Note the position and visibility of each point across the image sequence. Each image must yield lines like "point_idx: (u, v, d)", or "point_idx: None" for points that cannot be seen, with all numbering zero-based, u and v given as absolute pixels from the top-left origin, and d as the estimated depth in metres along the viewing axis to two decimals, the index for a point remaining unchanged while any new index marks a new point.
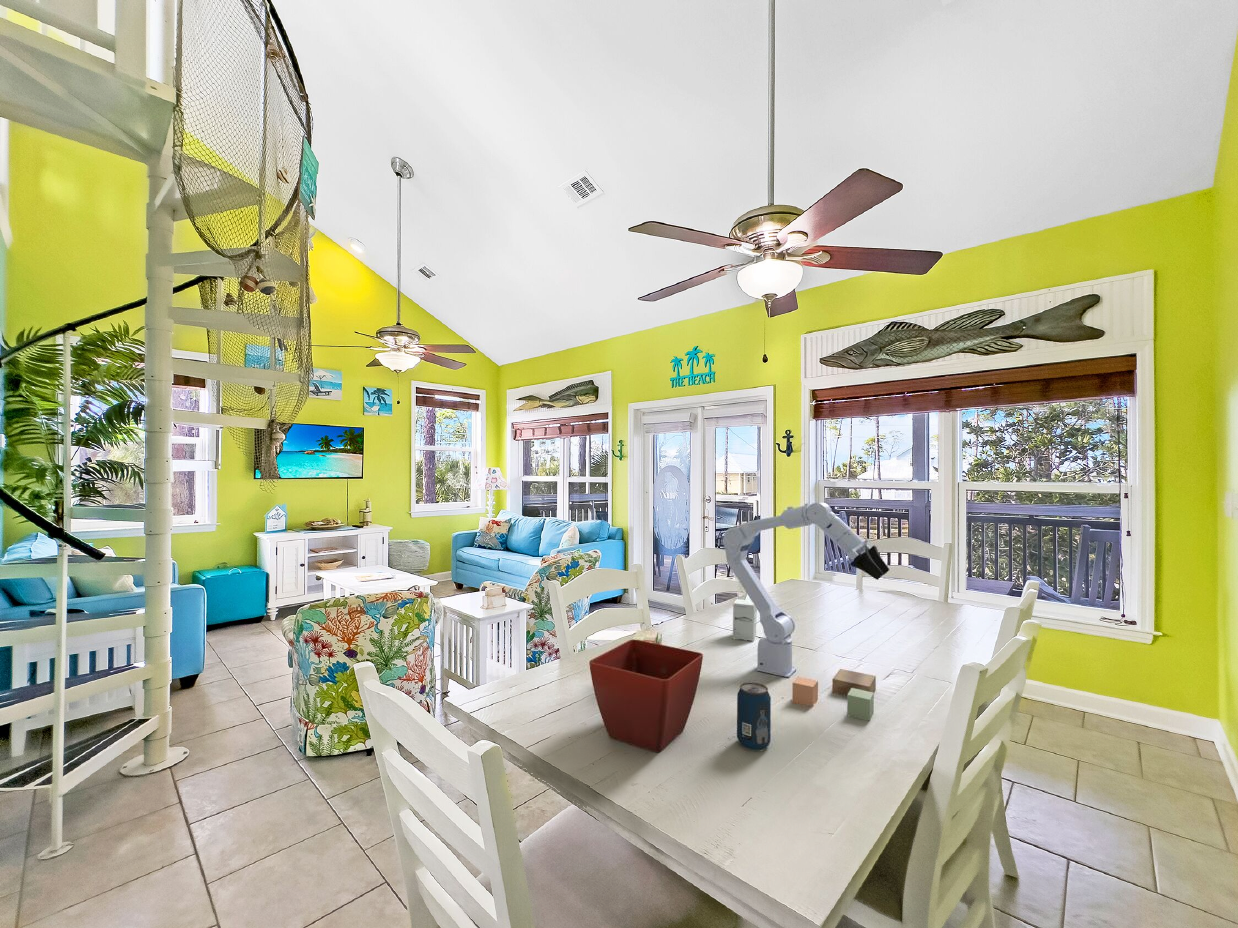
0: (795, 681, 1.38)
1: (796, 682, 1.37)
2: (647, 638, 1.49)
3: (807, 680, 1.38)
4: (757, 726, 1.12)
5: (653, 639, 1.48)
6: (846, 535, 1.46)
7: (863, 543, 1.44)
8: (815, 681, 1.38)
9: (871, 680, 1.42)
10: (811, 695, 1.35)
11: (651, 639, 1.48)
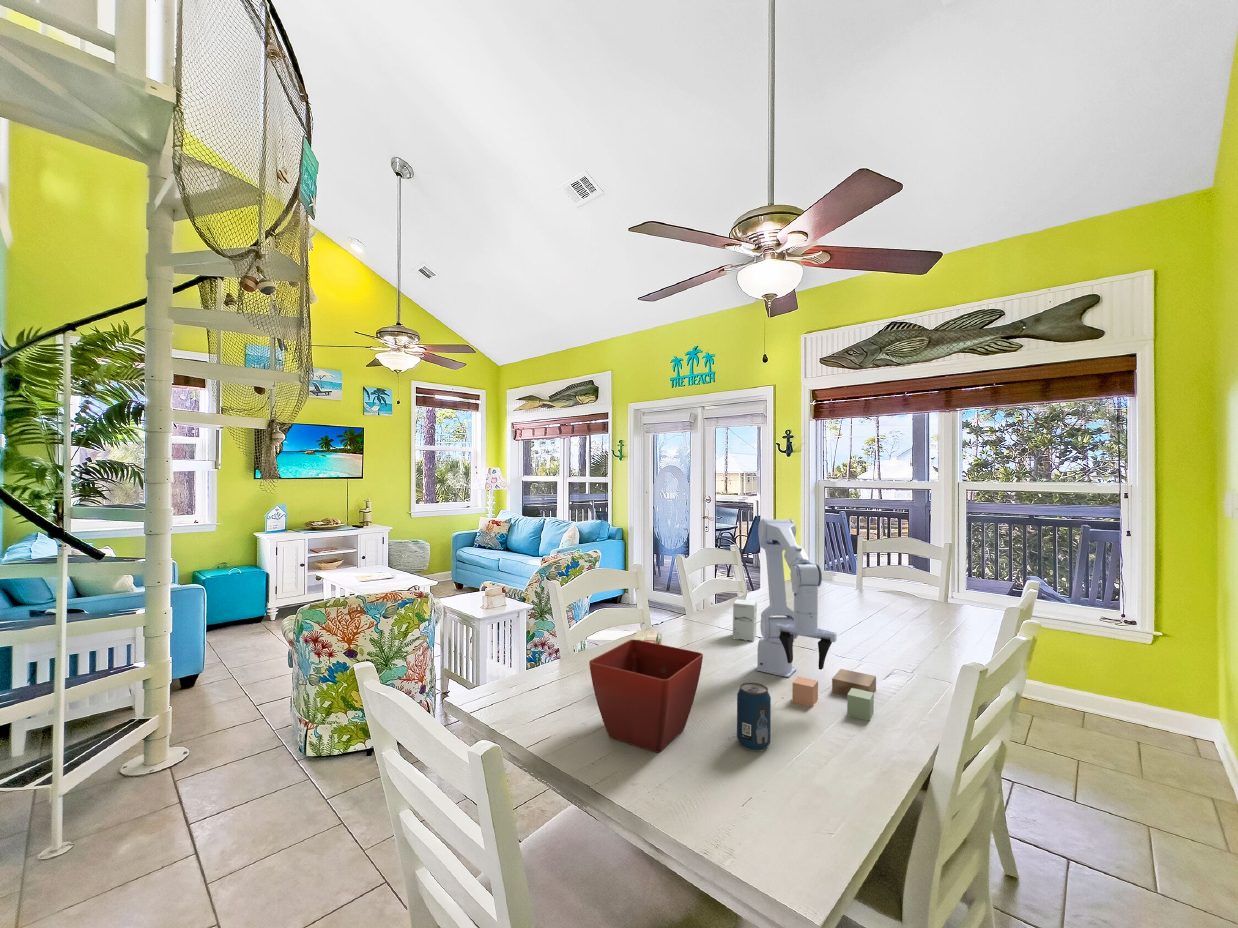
0: (795, 681, 1.38)
1: (796, 682, 1.37)
2: (648, 638, 1.49)
3: (807, 680, 1.38)
4: (757, 726, 1.12)
5: (654, 639, 1.48)
6: (794, 613, 1.38)
7: (796, 631, 1.37)
8: (815, 681, 1.38)
9: (871, 680, 1.42)
10: (811, 695, 1.35)
11: (652, 639, 1.48)
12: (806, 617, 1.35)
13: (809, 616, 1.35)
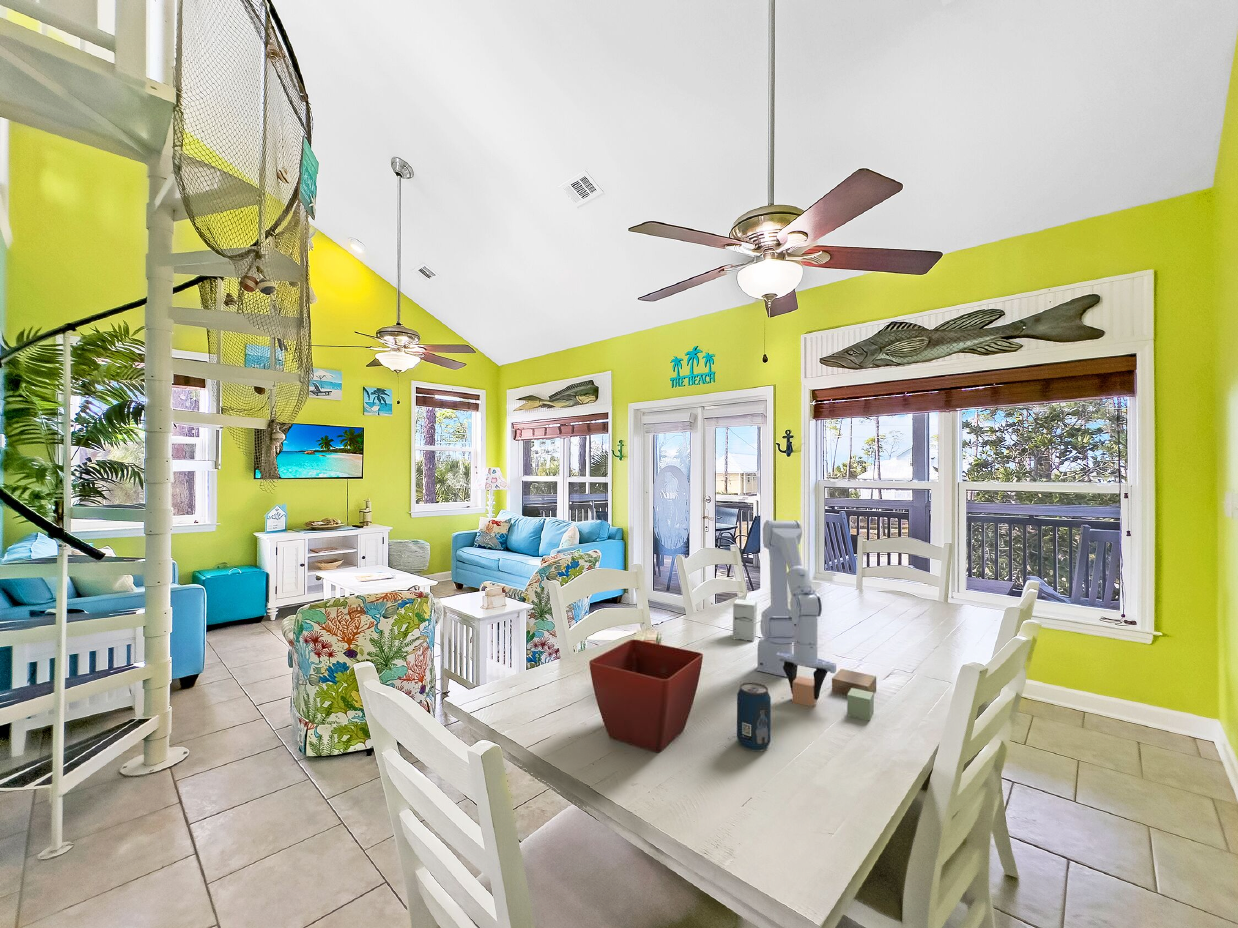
0: (795, 681, 1.38)
1: (796, 682, 1.37)
2: (648, 638, 1.49)
3: (807, 680, 1.38)
4: (757, 726, 1.12)
5: (654, 639, 1.48)
6: (794, 643, 1.38)
7: (796, 662, 1.36)
8: None
9: (871, 680, 1.42)
10: (811, 694, 1.35)
11: (652, 639, 1.48)
12: (806, 648, 1.35)
13: (809, 647, 1.35)
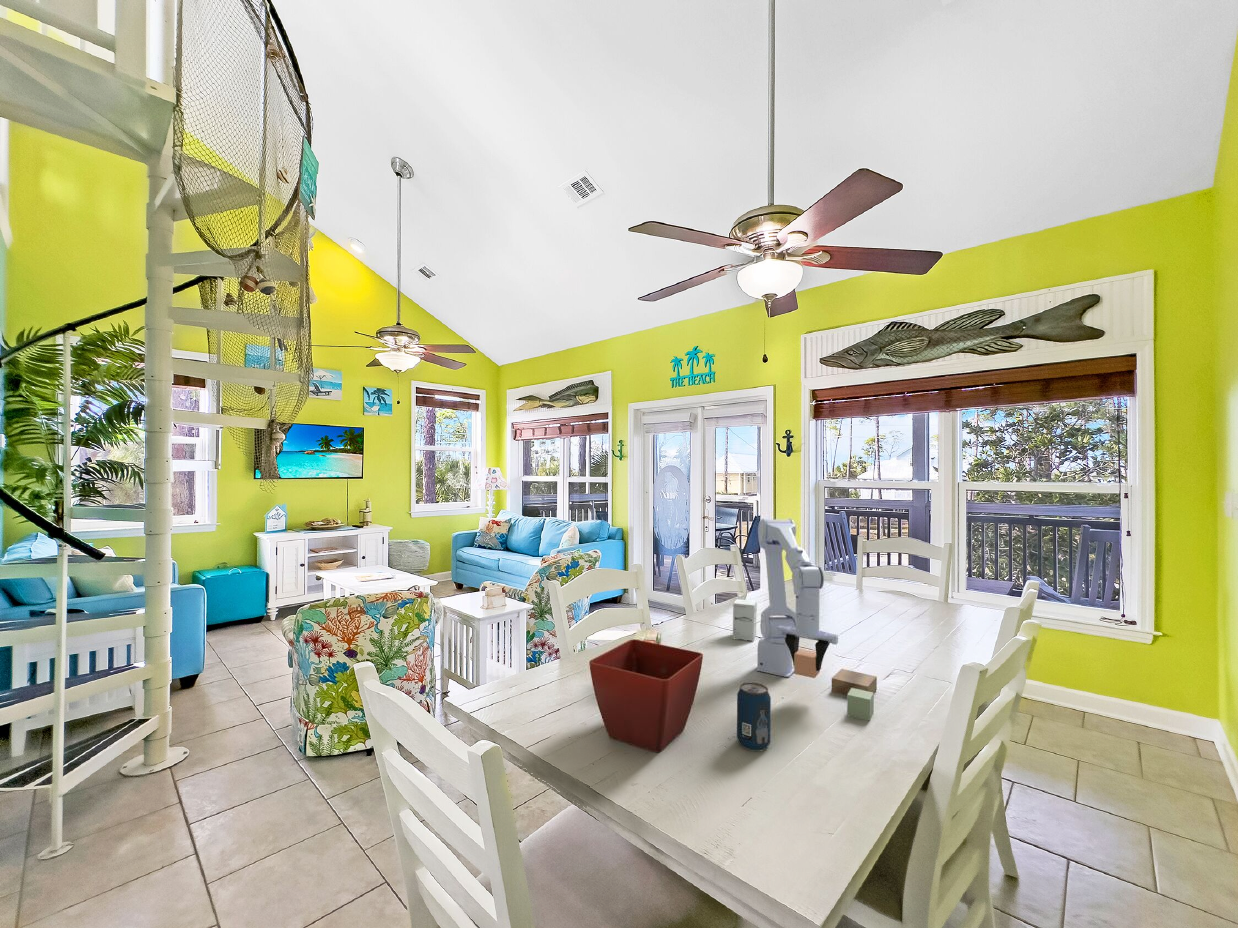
0: (796, 653, 1.38)
1: (798, 653, 1.38)
2: (648, 637, 1.49)
3: (809, 652, 1.39)
4: (757, 726, 1.12)
5: (654, 638, 1.48)
6: (795, 615, 1.39)
7: (798, 634, 1.37)
8: None
9: (871, 680, 1.42)
10: (812, 666, 1.35)
11: (652, 638, 1.48)
12: (808, 619, 1.36)
13: (811, 618, 1.35)
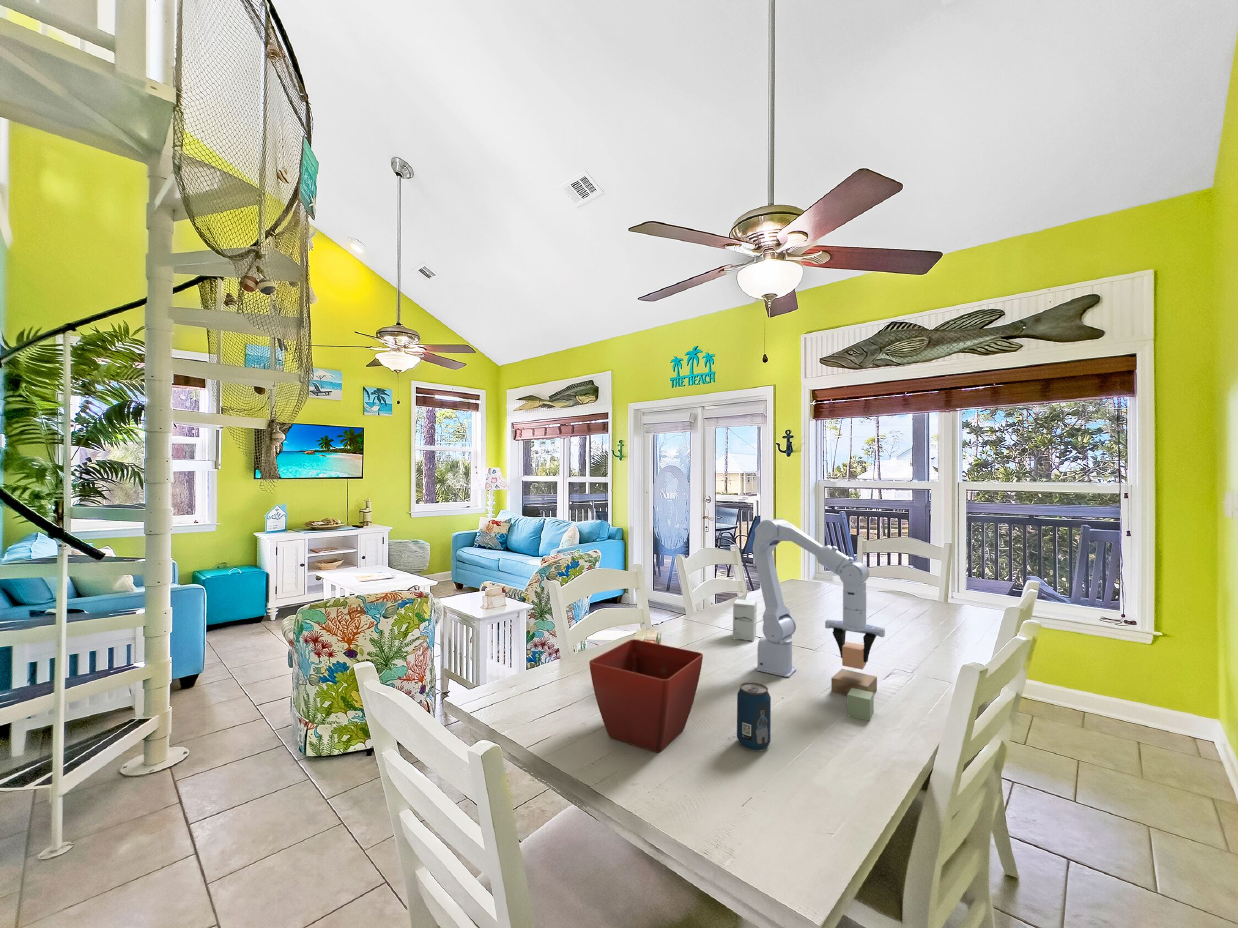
0: (844, 645, 1.44)
1: (845, 646, 1.44)
2: (648, 637, 1.49)
3: (856, 645, 1.45)
4: (757, 726, 1.12)
5: (654, 638, 1.48)
6: (843, 609, 1.45)
7: (846, 627, 1.43)
8: None
9: (871, 680, 1.42)
10: (860, 658, 1.41)
11: (652, 638, 1.48)
12: (856, 613, 1.42)
13: (859, 612, 1.42)
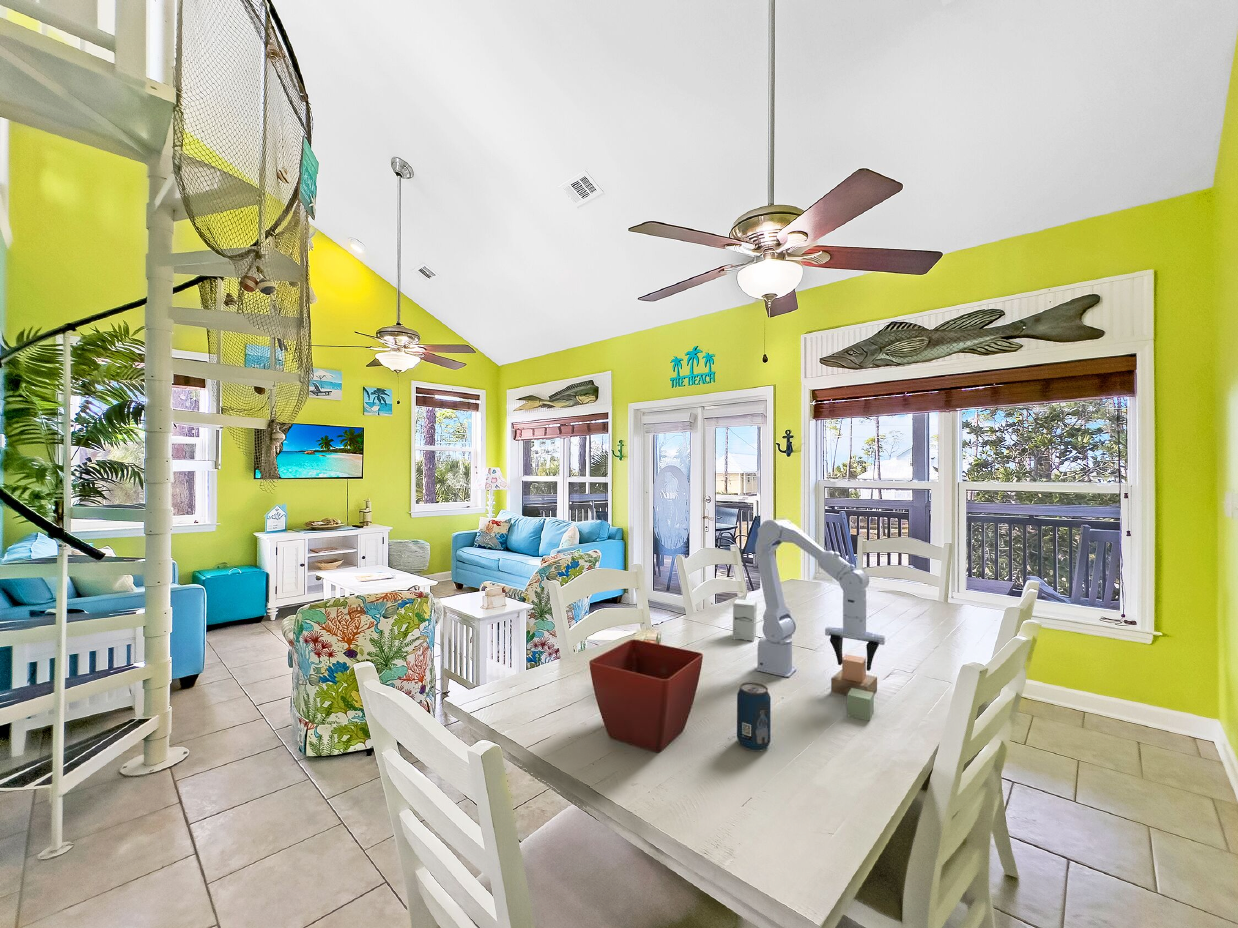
0: (844, 658, 1.44)
1: (845, 659, 1.44)
2: (648, 637, 1.49)
3: (856, 658, 1.45)
4: (757, 726, 1.12)
5: (654, 638, 1.49)
6: (843, 617, 1.45)
7: (846, 635, 1.43)
8: (863, 658, 1.45)
9: (871, 681, 1.42)
10: (860, 671, 1.41)
11: (652, 638, 1.49)
12: (856, 621, 1.42)
13: (859, 620, 1.42)
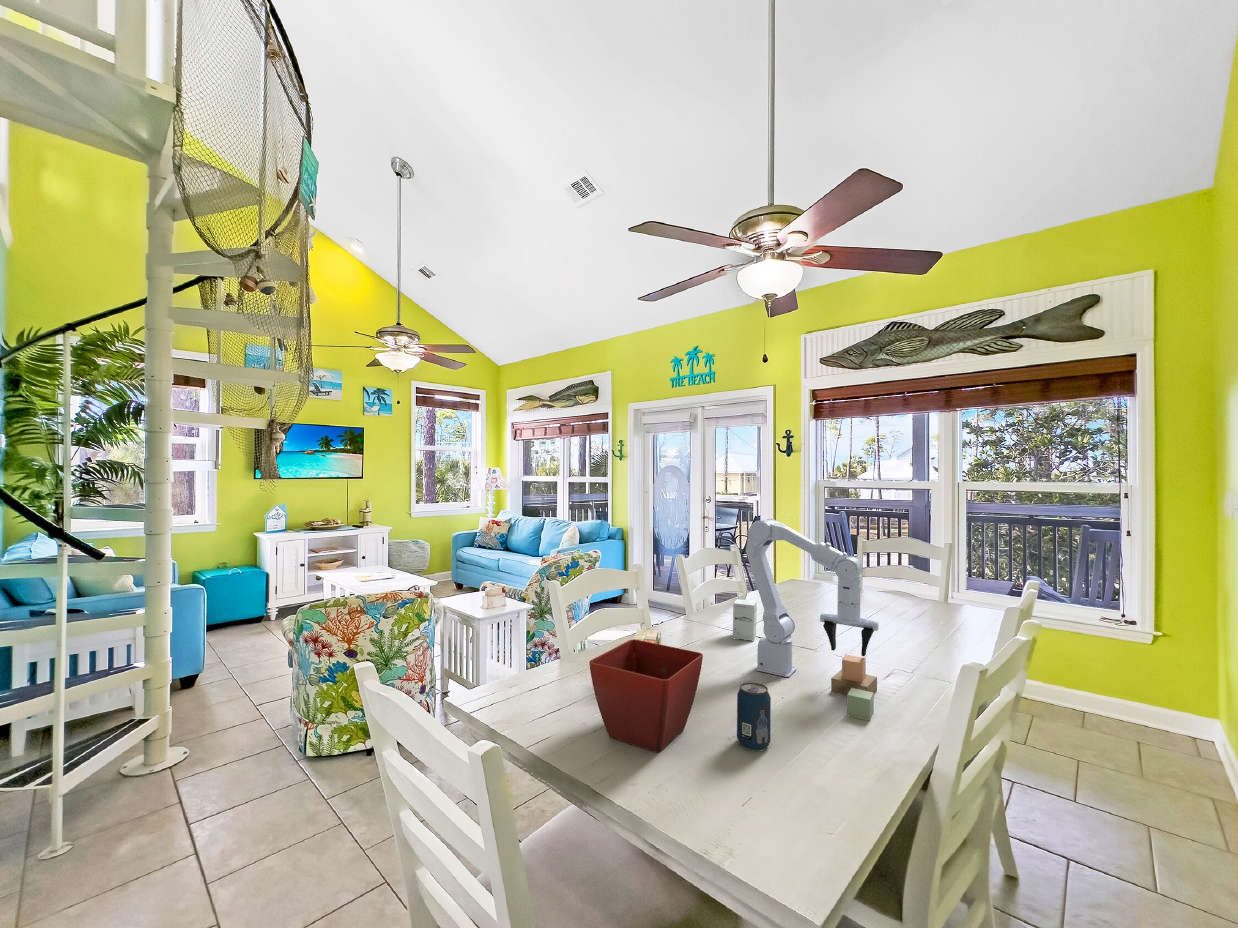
0: (844, 658, 1.44)
1: (845, 659, 1.44)
2: (648, 637, 1.49)
3: (855, 658, 1.45)
4: (757, 726, 1.12)
5: (654, 638, 1.49)
6: (838, 603, 1.48)
7: (840, 621, 1.46)
8: (863, 658, 1.45)
9: (871, 681, 1.42)
10: (860, 671, 1.41)
11: (652, 638, 1.49)
12: (850, 607, 1.45)
13: (853, 606, 1.45)
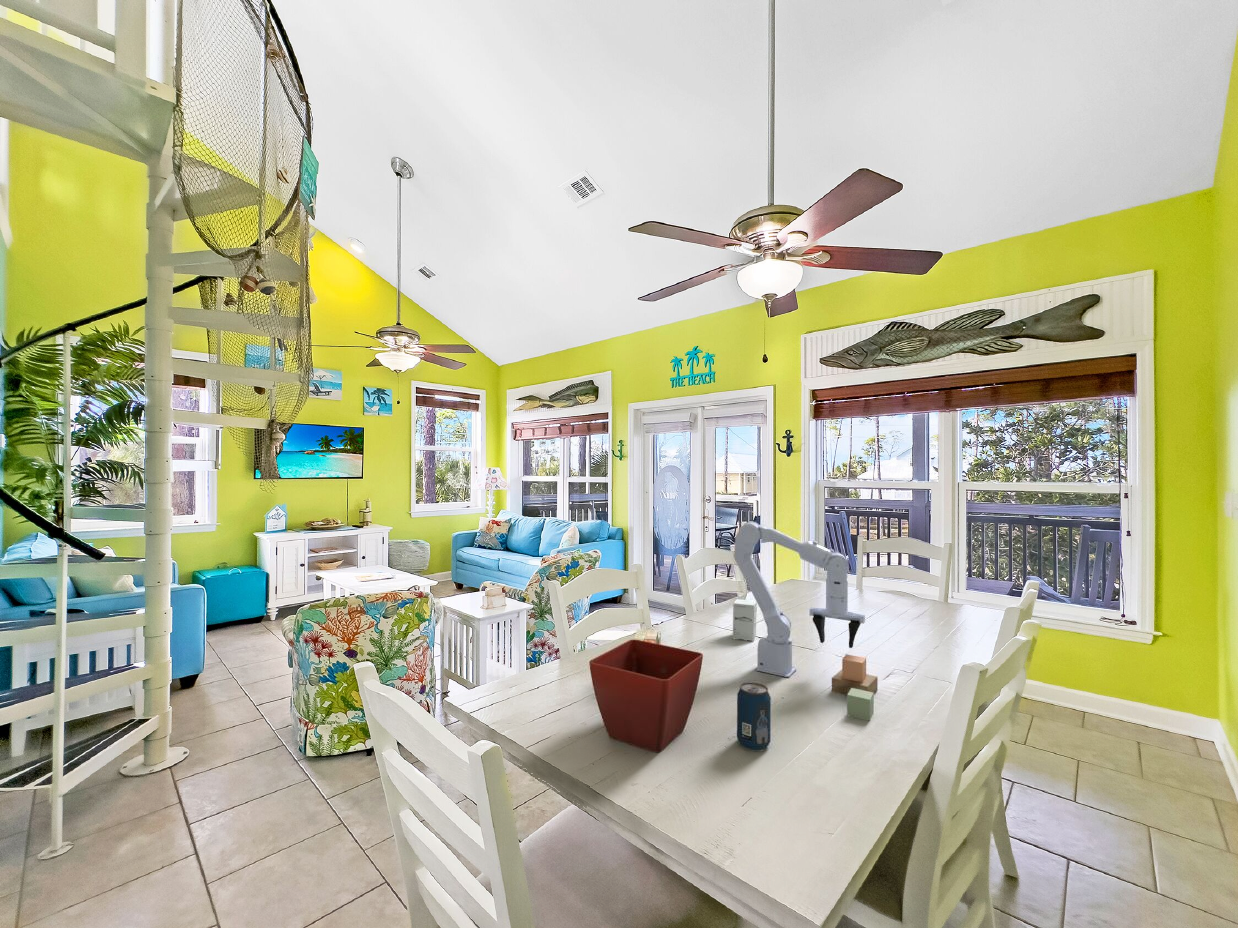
0: (844, 658, 1.44)
1: (845, 659, 1.44)
2: (648, 637, 1.50)
3: (856, 657, 1.45)
4: (757, 726, 1.12)
5: (654, 638, 1.49)
6: (826, 597, 1.54)
7: (828, 614, 1.52)
8: (863, 658, 1.45)
9: (871, 680, 1.42)
10: (860, 670, 1.41)
11: (652, 638, 1.49)
12: (837, 601, 1.51)
13: (840, 600, 1.51)
